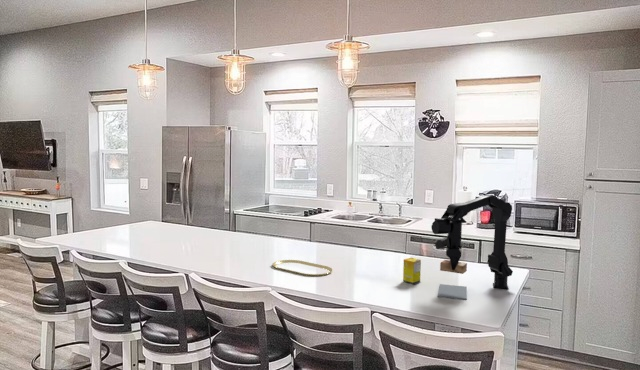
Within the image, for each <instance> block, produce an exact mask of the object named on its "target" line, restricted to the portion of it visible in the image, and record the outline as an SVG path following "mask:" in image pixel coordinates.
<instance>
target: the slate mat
mask: <svg viewBox="0 0 640 370" xmlns="http://www.w3.org/2000/svg"><path fill="white" fill-rule="evenodd" d="M467 295H468V292H467V285H466V286H465V285H464V286H463V285H455V284H444V283H439V285H438V292H437V298H445V299H453V300H454V299H455V300H463V301H464V300H466V301H467V299H468V296H467Z"/></svg>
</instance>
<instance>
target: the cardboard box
mask: <svg viewBox="0 0 640 370" xmlns="http://www.w3.org/2000/svg"><path fill="white" fill-rule="evenodd" d="M467 265H468V263H467V262H462V261H459V262H458V264H457V266H456V268H455V270H452V267H451V261H450V259H444V260H442V261H441V262H440V265H439V266H440V267H439V271H441V272H448V273H449V272H450V273H453V274H454V273H456V274H463V275H464V274H465V273H466V272H467V268H468V266H467Z"/></svg>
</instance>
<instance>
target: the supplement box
mask: <svg viewBox="0 0 640 370" xmlns="http://www.w3.org/2000/svg"><path fill="white" fill-rule="evenodd" d="M421 264H422V260H421V259H419V258H414V257H409V258H403V270H402V272H403V273H402V275H403V276H402V282H403V283H406V284H410V285H415V284H418V283H421V268H422V267H421V266H422V265H421Z"/></svg>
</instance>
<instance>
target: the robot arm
mask: <svg viewBox="0 0 640 370" xmlns="http://www.w3.org/2000/svg"><path fill="white" fill-rule="evenodd" d="M486 206H488V207H489V208H491V211H492V213H491V214H492V216H493V219H494V233H493V234H494V235H493V246H492V247H493V249H492V252H491V254H488V255H487V262H486V263H487V266H488V267H489V269H490V272H491V273H493V274H494V278H493V282H492V287H493V288H494V289H503V290H509V285H508V277H511V276H512V275H513V270H512V268H511V267H510V266H509V262H508V257H507V254H506V240H507V238H506V237H507V224H508V220H509V219H510V218H511V215H512V211H513V205H512V204H511V202H509V201H508V202H507V201H505V200H502V199H500V198H498V197H496V196H495V195H494V194H489V193H487V194H486V193H485V194H484V195H482V196H479V197H476V198H473V199H470V200H468V201H466V202H457V203H456V202H455V203H451V204H448V205H447V208H446V210H445V211H444V213H443V214H442V215H441V218H437V217H436V218H434V221H433V222H432V224H431V226H430V227H431V231H432V233H433V234H434V235H445V234H447V236H446V237H442V238H440V239H436V240H434V242H433V243H434V246H435V248H436V250H438V249H441V248H445V247H446V252H445V255H446V257H447V258H449V260H450V261H451V267H452V270H455V268H456V266H457V264H458V262H460V259H461V257H462V247H463V245H462V231H463V230H462V229H463V228H462V226H463V224H466V223H467V221H466V220H465V219H464V218H465V216H468V214H469V213H470V212H473V211H475V210H478V209H481V208H483V207H486Z"/></svg>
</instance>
